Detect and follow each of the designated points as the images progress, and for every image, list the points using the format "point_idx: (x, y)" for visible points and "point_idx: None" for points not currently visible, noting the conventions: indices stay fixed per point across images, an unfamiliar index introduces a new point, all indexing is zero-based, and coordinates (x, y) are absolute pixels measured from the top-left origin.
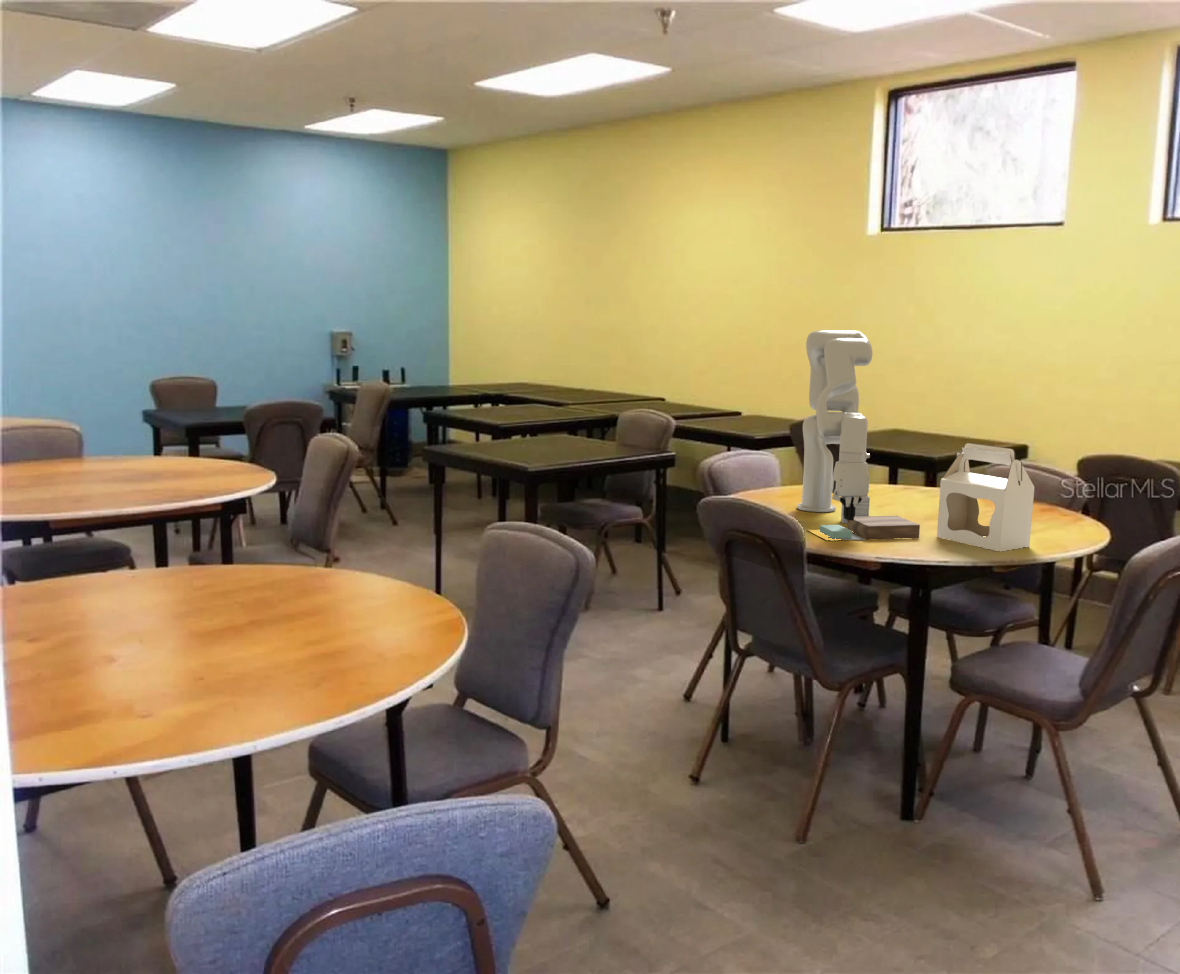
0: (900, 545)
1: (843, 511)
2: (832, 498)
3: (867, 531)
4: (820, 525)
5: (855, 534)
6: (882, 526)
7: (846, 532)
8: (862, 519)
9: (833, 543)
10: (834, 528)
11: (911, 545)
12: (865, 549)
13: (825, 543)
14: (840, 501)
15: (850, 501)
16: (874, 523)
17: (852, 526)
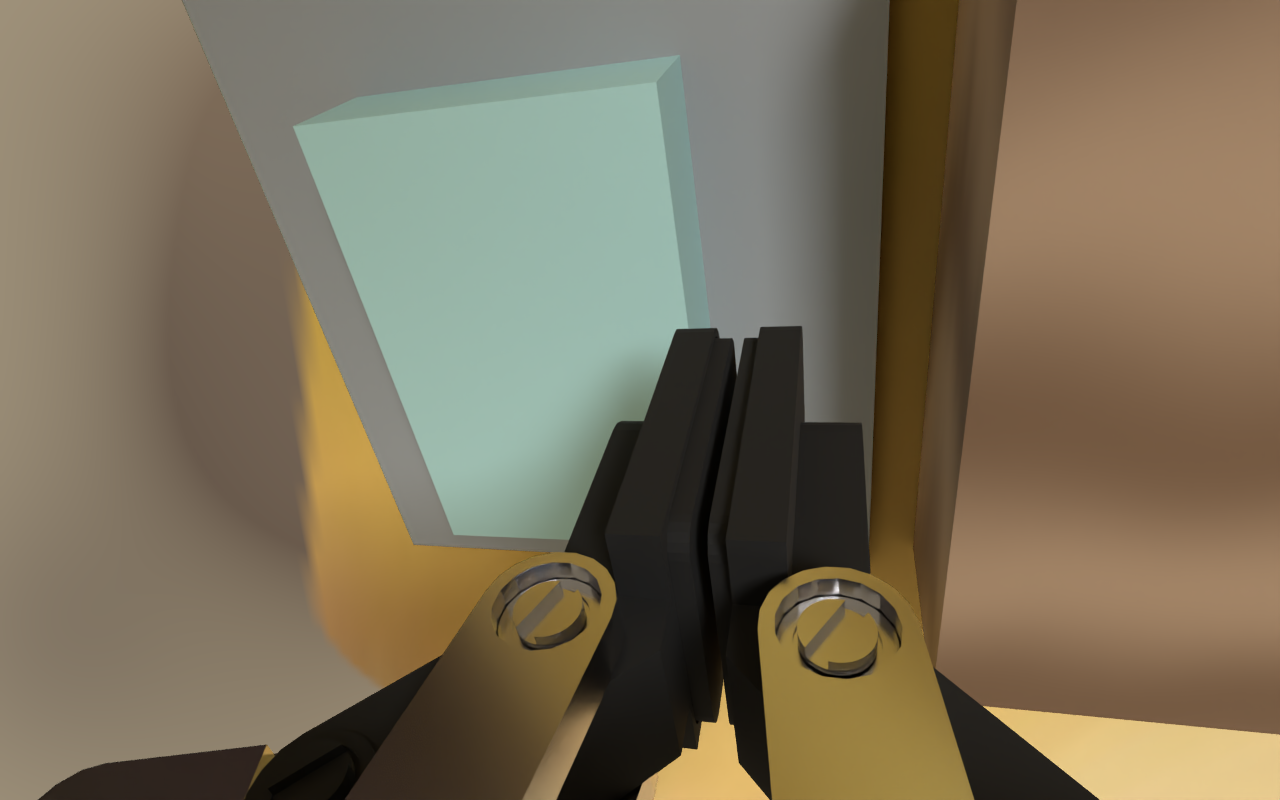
0: (1130, 771)
1: (593, 481)
2: (56, 794)
3: (925, 608)
4: (302, 150)
5: (874, 324)
6: (1188, 718)
7: None
8: (1259, 182)
9: (475, 601)
10: (504, 389)
11: (1263, 794)
12: (696, 781)
13: (403, 589)
14: (373, 729)
15: (765, 715)
16: (1197, 582)
17: (970, 81)
